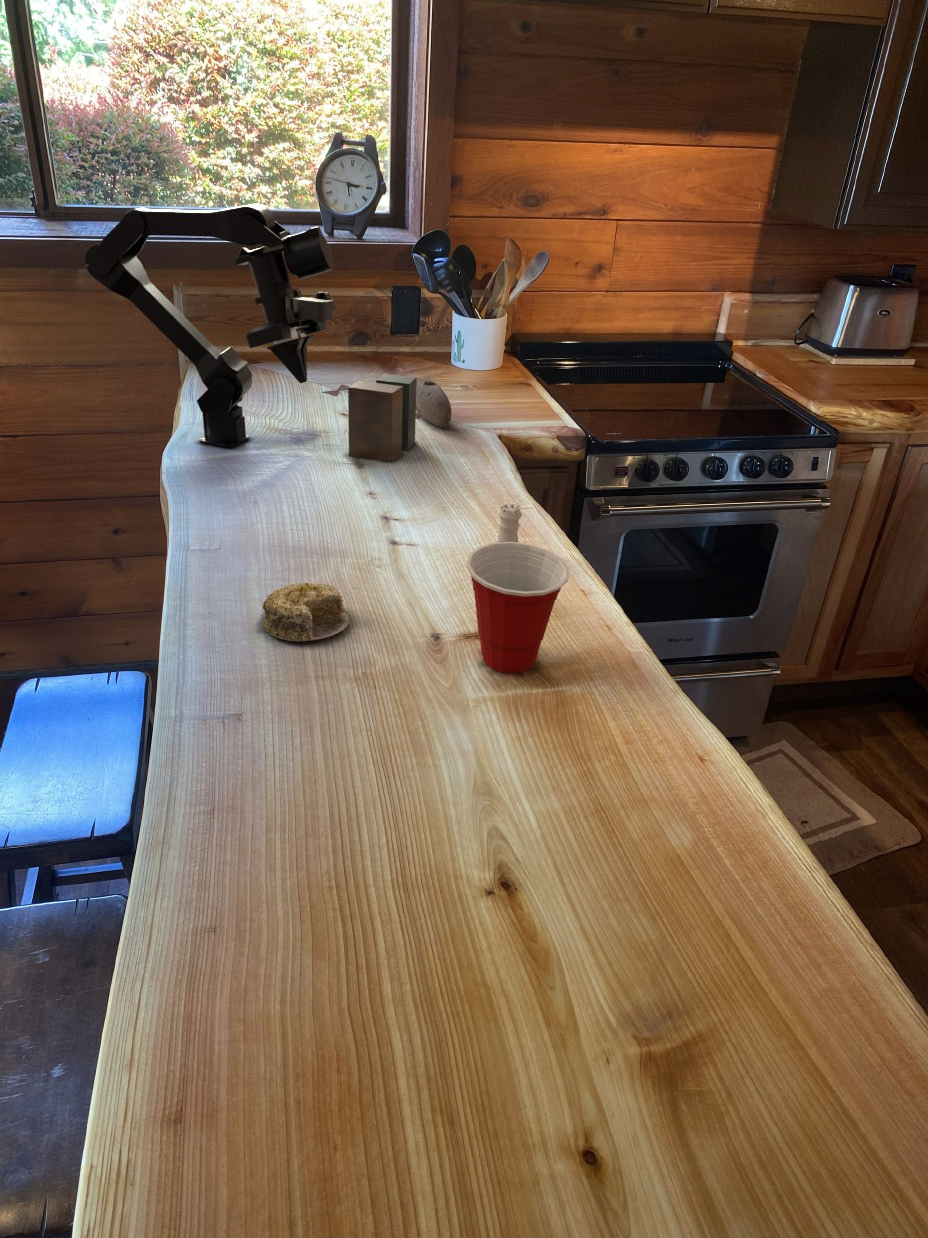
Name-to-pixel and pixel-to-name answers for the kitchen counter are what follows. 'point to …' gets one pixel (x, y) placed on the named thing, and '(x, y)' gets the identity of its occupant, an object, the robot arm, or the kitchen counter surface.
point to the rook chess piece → (509, 523)
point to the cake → (304, 612)
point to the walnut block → (375, 420)
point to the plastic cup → (514, 600)
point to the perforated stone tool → (432, 403)
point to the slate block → (405, 405)
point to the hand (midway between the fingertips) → (303, 382)
